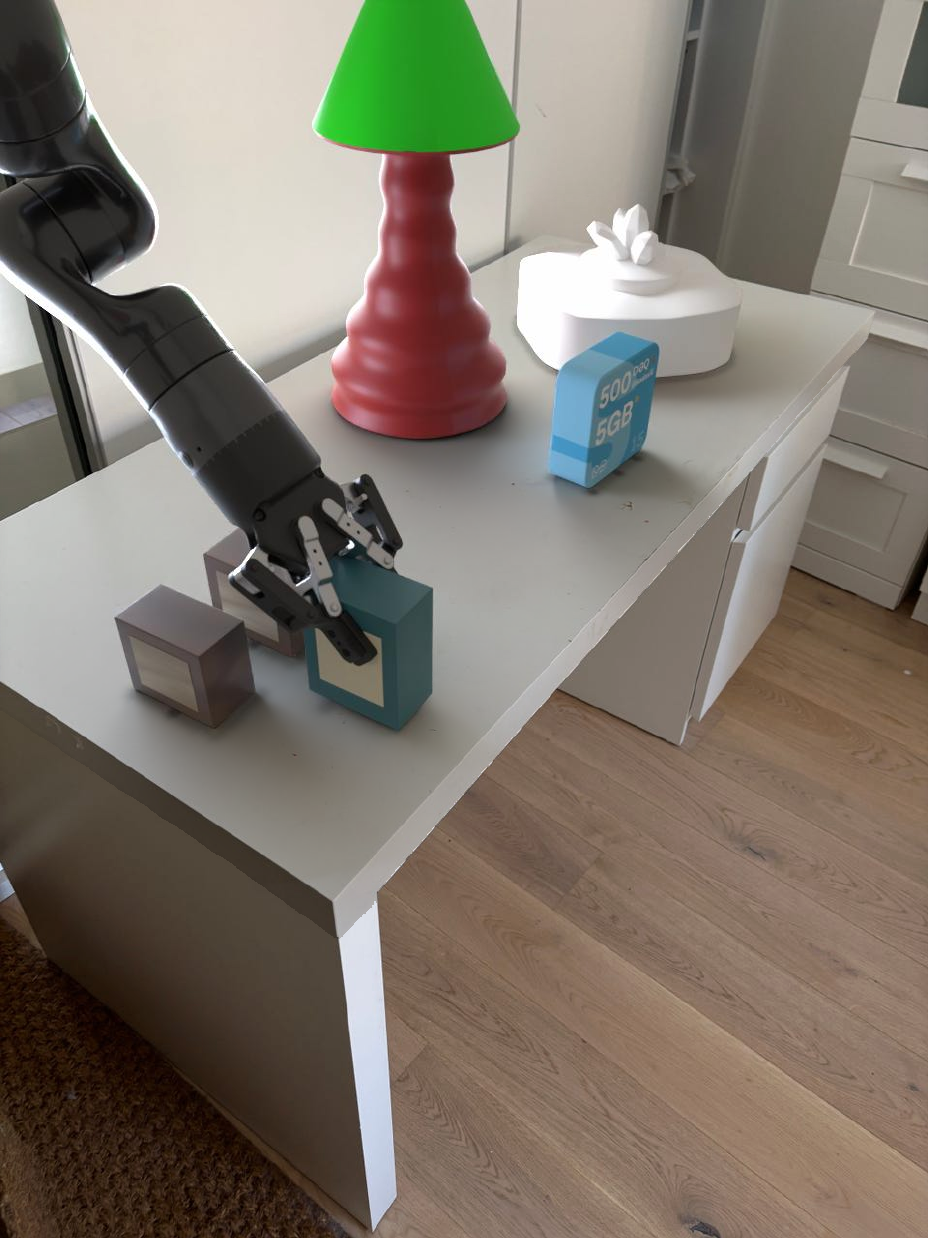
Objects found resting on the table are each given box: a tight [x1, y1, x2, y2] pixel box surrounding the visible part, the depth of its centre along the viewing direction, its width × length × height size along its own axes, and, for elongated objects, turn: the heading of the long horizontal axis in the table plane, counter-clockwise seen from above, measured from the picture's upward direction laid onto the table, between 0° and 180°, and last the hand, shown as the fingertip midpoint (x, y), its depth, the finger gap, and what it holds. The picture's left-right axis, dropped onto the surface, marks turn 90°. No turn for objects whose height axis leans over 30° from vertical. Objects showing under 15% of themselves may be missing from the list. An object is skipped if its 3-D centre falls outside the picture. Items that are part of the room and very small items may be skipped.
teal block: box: [303, 556, 434, 732], centre depth 69 cm, size 5×8×10 cm, turn 59°
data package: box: [548, 332, 659, 489], centre depth 96 cm, size 12×4×12 cm, turn 142°
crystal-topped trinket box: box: [516, 203, 744, 379], centre depth 119 cm, size 25×25×16 cm
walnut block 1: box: [113, 583, 256, 729], centre depth 70 cm, size 5×8×7 cm, turn 59°
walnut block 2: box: [202, 527, 307, 658], centre depth 76 cm, size 5×8×7 cm, turn 59°
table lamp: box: [311, 0, 521, 440], centre depth 95 cm, size 20×20×45 cm
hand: (389, 638), depth 67 cm, fingers closed on teal block, 4 cm apart
